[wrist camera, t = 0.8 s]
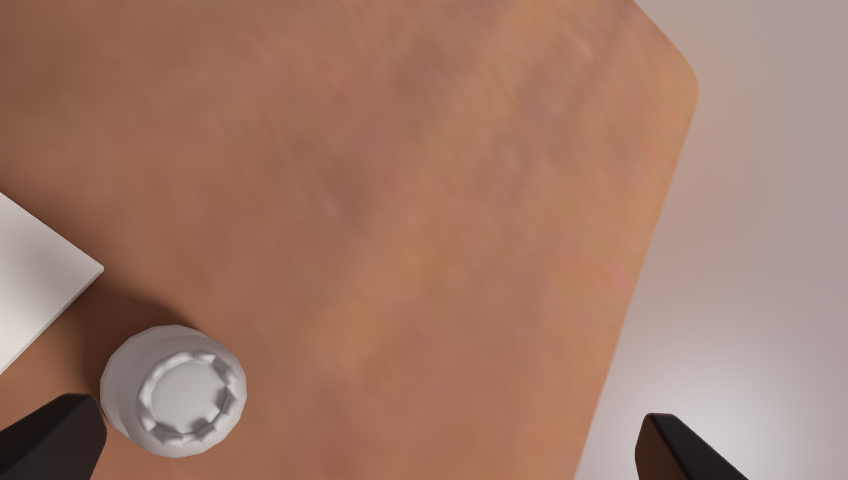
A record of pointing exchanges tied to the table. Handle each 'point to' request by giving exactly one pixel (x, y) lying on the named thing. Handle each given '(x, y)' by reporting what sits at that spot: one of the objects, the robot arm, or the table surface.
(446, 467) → the table surface
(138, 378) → the rook chess piece
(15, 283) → the peg board
